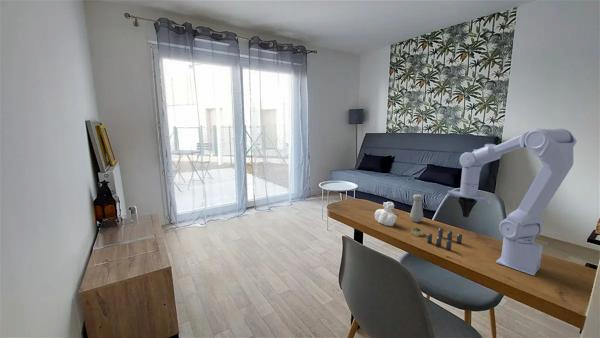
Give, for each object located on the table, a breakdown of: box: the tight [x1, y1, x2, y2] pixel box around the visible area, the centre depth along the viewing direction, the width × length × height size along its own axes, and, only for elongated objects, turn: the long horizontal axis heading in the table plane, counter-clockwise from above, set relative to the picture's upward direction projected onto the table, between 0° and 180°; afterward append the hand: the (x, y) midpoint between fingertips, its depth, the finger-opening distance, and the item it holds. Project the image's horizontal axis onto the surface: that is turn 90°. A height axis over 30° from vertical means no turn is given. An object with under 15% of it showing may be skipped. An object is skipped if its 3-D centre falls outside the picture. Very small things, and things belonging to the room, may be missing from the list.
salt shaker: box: [409, 194, 424, 223], centre depth 120 cm, size 6×6×13 cm
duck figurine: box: [374, 201, 398, 227], centre depth 117 cm, size 12×8×11 cm
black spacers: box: [426, 227, 463, 252], centre depth 97 cm, size 9×11×4 cm
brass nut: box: [410, 227, 424, 237], centre depth 106 cm, size 5×4×2 cm
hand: (465, 216), depth 99 cm, fingers closed
